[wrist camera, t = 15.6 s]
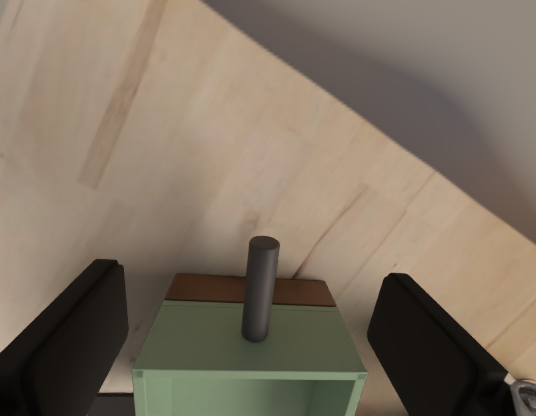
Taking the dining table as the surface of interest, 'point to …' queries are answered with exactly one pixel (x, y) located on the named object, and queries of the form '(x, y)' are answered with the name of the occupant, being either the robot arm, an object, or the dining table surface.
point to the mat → (113, 405)
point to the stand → (234, 290)
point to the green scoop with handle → (248, 355)
